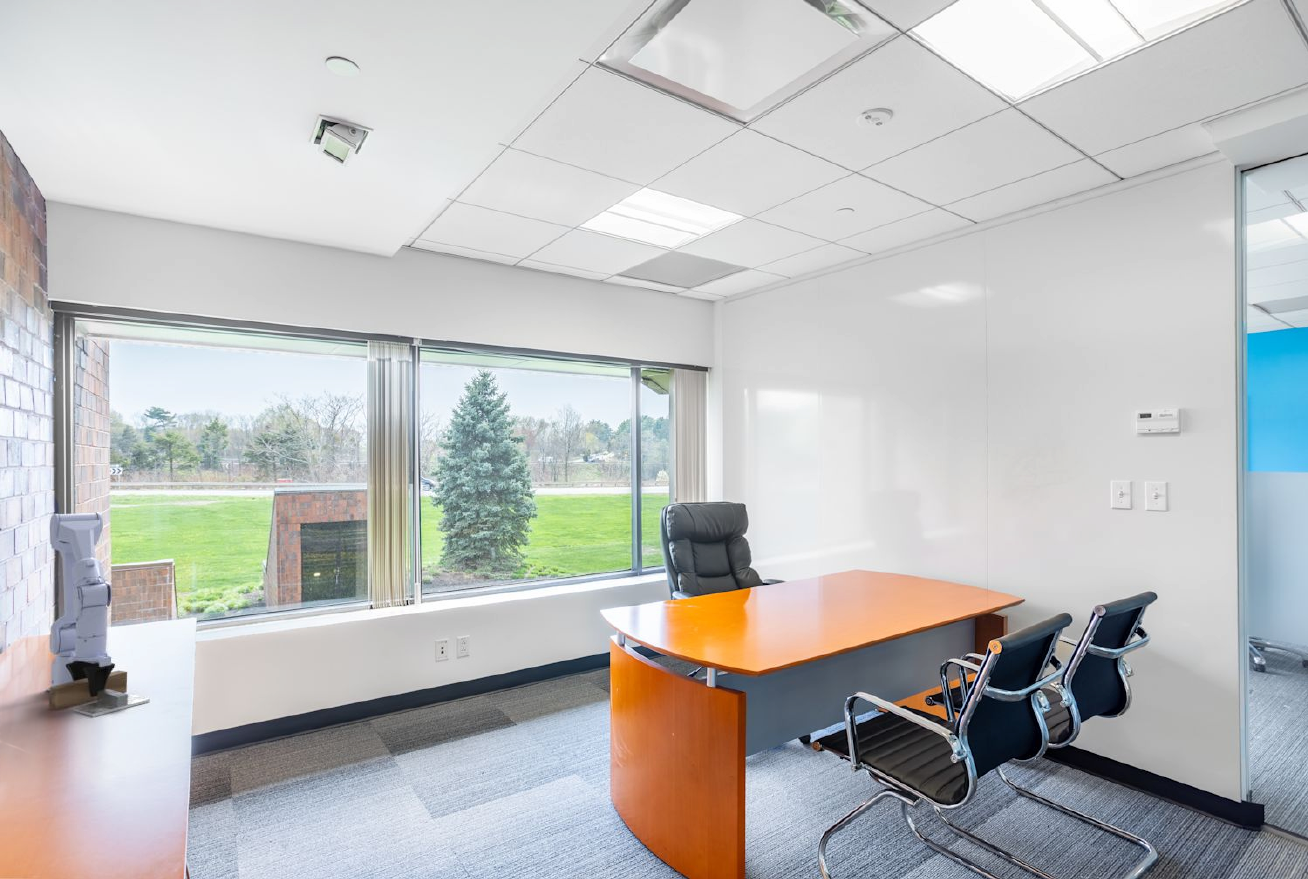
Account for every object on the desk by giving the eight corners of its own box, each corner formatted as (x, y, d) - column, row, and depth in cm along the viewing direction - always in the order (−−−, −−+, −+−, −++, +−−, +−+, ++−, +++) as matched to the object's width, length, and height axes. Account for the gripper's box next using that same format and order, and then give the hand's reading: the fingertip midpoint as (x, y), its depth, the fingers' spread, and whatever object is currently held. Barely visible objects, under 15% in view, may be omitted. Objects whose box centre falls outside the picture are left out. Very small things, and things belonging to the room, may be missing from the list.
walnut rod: (48, 709, 154) (49, 687, 154) (117, 691, 166) (118, 670, 167) (57, 711, 152) (58, 688, 152) (126, 692, 165) (127, 671, 165)
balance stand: (73, 710, 152) (73, 697, 152) (129, 696, 161) (129, 683, 162) (93, 716, 148) (93, 702, 148) (149, 701, 157) (150, 688, 158)
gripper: (55, 636, 160) (53, 694, 159) (86, 642, 153) (84, 703, 153) (91, 629, 166) (89, 685, 165) (122, 635, 160) (120, 694, 159)
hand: (89, 693), depth 159 cm, fingers open, 6 cm apart
